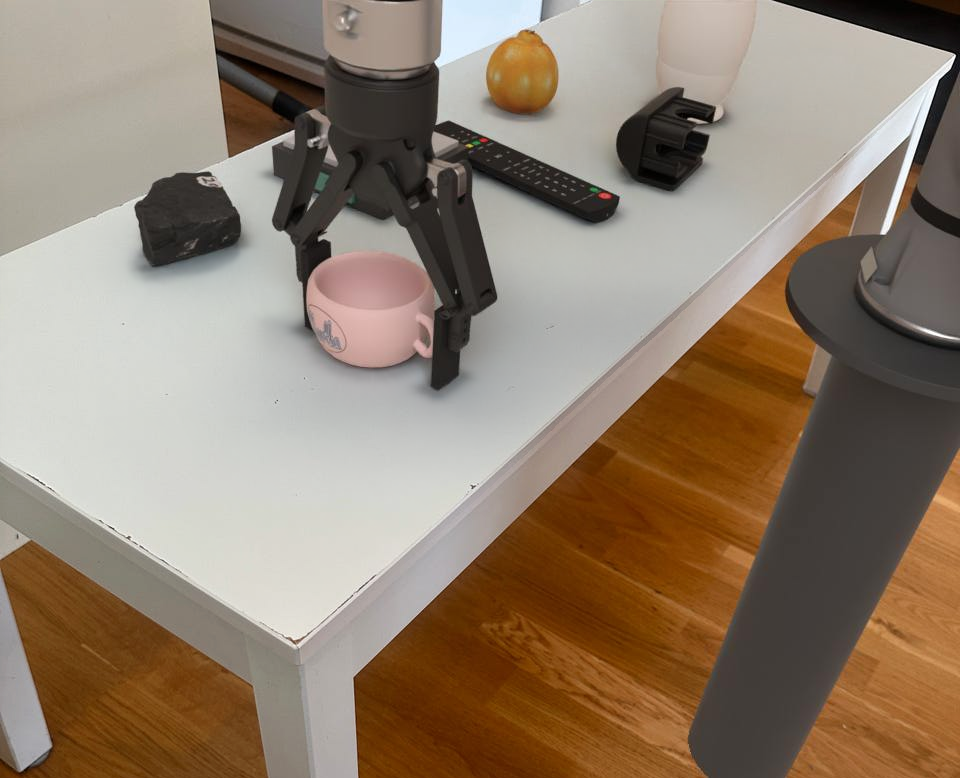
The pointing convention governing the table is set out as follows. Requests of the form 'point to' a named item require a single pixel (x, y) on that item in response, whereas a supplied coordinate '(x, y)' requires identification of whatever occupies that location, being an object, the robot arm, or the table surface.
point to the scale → (282, 154)
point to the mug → (371, 308)
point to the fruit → (522, 74)
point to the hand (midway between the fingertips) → (380, 350)
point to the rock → (186, 218)
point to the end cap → (664, 140)
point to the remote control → (533, 174)
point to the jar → (703, 47)
